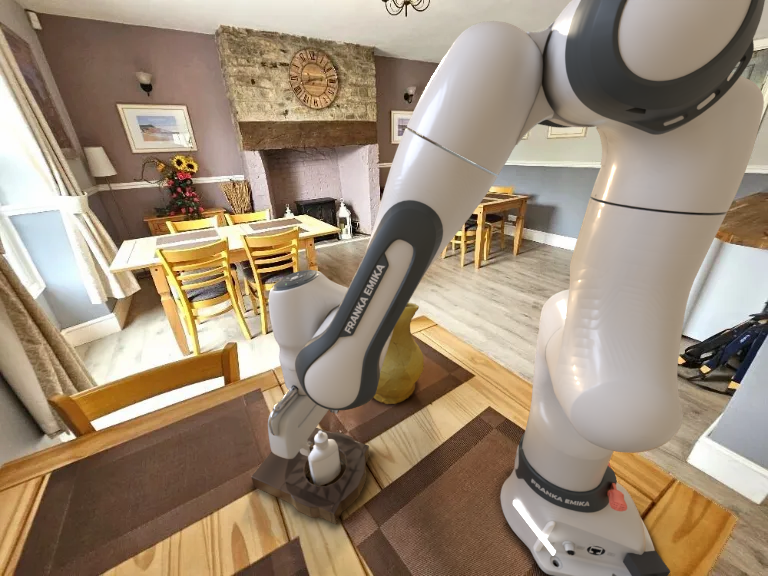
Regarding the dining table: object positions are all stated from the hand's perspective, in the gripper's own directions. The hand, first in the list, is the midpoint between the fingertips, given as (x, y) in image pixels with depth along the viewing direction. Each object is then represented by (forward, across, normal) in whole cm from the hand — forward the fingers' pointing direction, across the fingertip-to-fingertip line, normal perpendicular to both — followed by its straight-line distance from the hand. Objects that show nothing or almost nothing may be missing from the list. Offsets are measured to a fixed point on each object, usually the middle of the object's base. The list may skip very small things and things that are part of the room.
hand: (322, 429), depth 56 cm
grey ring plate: (+13, 0, +4) cm, 13 cm away
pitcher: (+13, +28, -1) cm, 31 cm away
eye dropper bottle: (+13, 0, +1) cm, 13 cm away
